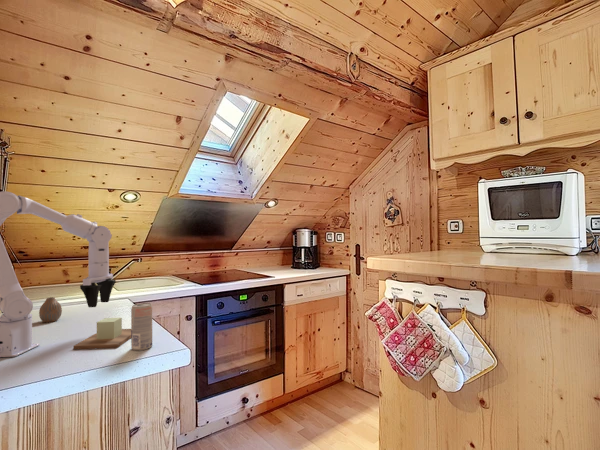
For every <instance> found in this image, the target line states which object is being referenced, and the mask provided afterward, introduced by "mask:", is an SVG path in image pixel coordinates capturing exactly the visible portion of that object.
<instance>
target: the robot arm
mask: <svg viewBox="0 0 600 450" xmlns="http://www.w3.org/2000/svg"><path fill="white" fill-rule="evenodd" d="M14 214H16V215H27V214H28V215H30V214H31V215H33V216H37V217H38V218H42V219H43V220H47V221H50V222H51V223H55V224H58V225H59V226H61V229H62V230H63V232H65V233H69V234H71V235H74V236H76V237H79V238H81V239H84V240H85V239H86V240H87V242H88V276H87V277H85V278H83V279H82V284H80V285H79V286H80V287H79V289H80V290H81V292H82V293H83V295H84V297H85V300H86V303H87V304H86V305H87V307H88V308H97V306H98V297H99V298H100V303H109V301H110V297H111V294H112V291H113V288H114V285H116V282H117V281H116V279H114V274H113V273H110V265H109V264H110V249H109V248H110V247H109V246H110V245H109V243H110V241H111V239H112V236H113V234H112V233H111V230H110V229H109V228H108V227H107V226H104V225H98V222H97V221H90V220H88V219H86V218H84V217H83V215H82V214H79V213H77V214H68V215H66V214H64V213H61V212H59V211H57V210H55V209H53V208H51V207H49V206H46V205H44V204H42V203H40V202H37V201H36V200H33V199H31V198H28V197H25V196H22V195H18V194H15V193H13V192H11V191H6V190H5V191H0V227H1V226H2V225H3V224H4V222H5V221H6V219H8V218H9V217H11V216H12V215H14ZM33 308H34V303H33V301H32V300H31V299H30V298H29V297H27V295H25V293H24V289H23V288H22V287H21V284H20V282H19V280H18V277H17V275H16V272H15V270H14V266H13V264H12V261H11V259H10V257H9V254H8V251H7V249H6V246H5V244H4V240H3V238H2V236H1V234H0V311H1V313H3V314H1V315H0V358H9V357H11V358H12V357H13V358H14V357H17V356H19V355H21V354H24V353H26V352H28V351H30V350H32V349H34V348H36V347H37V348H38V346H40V345H41V344H40V343H39V342H38V343H33V314H32V313H31V312H32V311H33Z"/></svg>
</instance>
